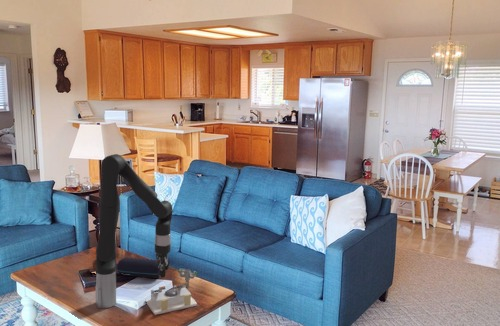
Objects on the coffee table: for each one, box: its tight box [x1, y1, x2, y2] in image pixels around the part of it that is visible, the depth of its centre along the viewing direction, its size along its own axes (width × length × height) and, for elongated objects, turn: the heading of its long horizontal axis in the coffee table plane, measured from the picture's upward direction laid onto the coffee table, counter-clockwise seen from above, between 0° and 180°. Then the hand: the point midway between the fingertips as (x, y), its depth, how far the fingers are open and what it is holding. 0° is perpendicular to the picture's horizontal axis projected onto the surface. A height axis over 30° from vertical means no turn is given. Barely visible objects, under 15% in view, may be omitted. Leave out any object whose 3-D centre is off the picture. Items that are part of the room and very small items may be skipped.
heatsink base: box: [146, 283, 198, 316], centre depth 226 cm, size 22×15×6 cm
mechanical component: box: [177, 268, 198, 289], centre depth 244 cm, size 3×10×10 cm, turn 79°
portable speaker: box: [116, 257, 160, 279], centre depth 256 cm, size 25×10×10 cm, turn 84°
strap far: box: [176, 281, 188, 289], centre depth 229 cm, size 2×12×2 cm, turn 30°
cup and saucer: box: [88, 259, 96, 270], centre depth 259 cm, size 12×12×6 cm
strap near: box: [154, 286, 166, 293], centre depth 223 cm, size 2×12×2 cm, turn 30°
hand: (162, 276), depth 218 cm, fingers closed
